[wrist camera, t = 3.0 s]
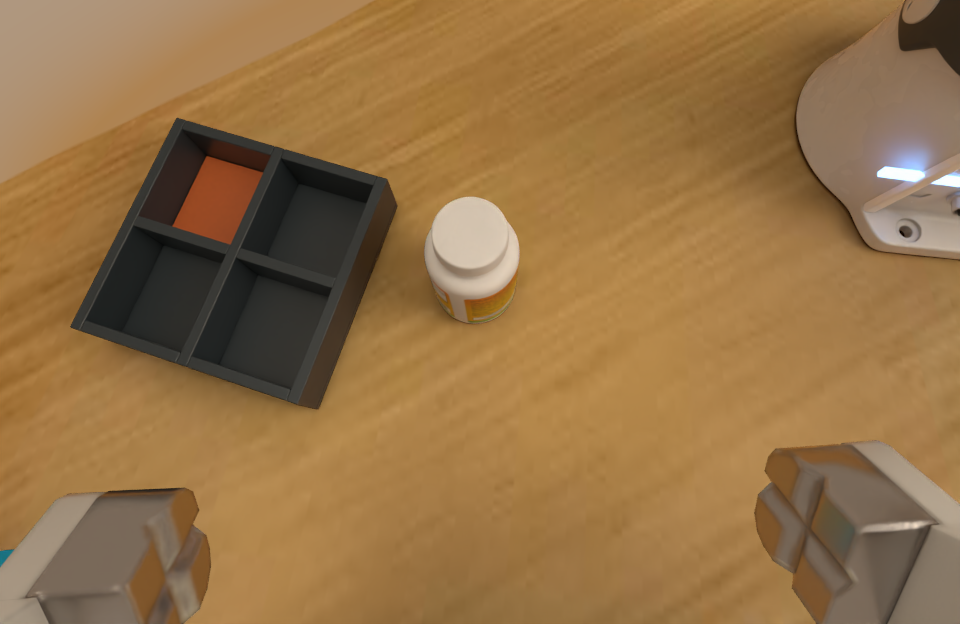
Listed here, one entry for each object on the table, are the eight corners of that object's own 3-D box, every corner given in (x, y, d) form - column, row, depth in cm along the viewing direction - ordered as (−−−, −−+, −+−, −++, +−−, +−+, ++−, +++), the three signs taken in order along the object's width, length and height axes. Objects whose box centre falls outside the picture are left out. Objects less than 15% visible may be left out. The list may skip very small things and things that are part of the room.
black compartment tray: (397, 205, 40) (387, 178, 36) (318, 409, 36) (297, 404, 32) (206, 148, 41) (176, 117, 37) (112, 340, 38) (69, 327, 34)
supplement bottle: (526, 263, 38) (537, 201, 29) (499, 336, 37) (502, 296, 28) (452, 238, 39) (439, 169, 29) (423, 309, 38) (400, 261, 28)
